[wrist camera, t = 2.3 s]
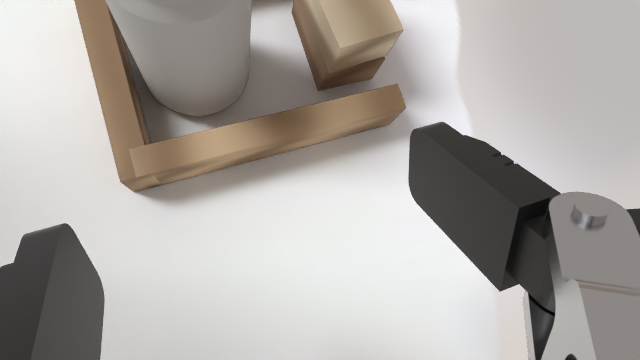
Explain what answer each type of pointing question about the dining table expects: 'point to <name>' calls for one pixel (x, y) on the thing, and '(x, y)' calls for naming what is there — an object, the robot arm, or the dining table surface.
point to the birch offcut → (351, 30)
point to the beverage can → (188, 49)
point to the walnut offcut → (317, 63)
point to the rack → (214, 144)
